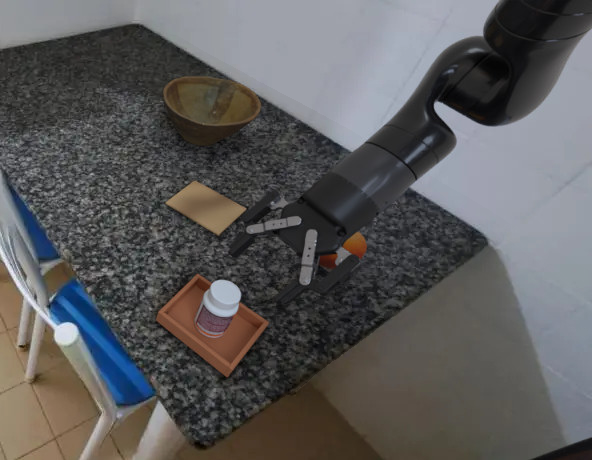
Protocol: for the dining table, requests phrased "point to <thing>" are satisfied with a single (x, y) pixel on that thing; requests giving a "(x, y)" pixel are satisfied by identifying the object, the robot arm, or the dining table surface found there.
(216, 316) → the pill bottle
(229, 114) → the bowl
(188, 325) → the tray
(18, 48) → the dining table surface
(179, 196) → the mat
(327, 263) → the fruit
